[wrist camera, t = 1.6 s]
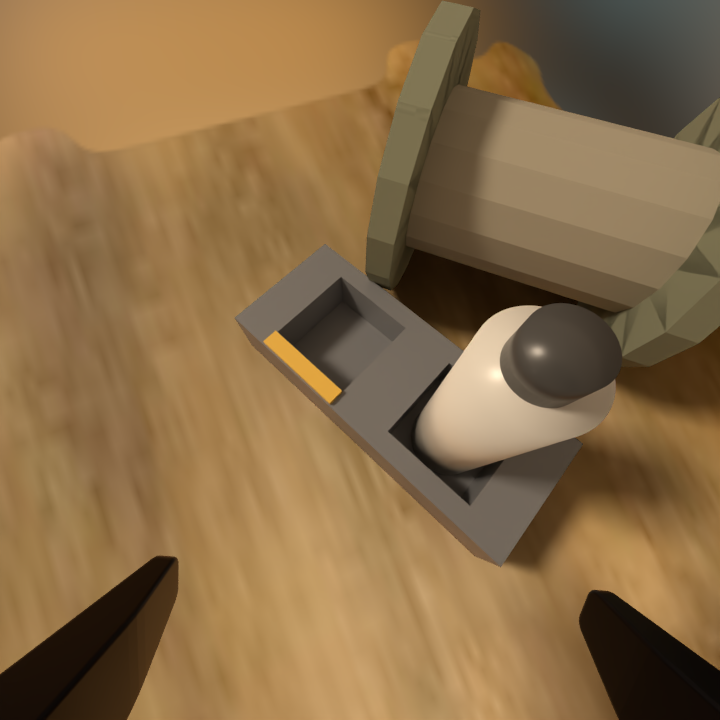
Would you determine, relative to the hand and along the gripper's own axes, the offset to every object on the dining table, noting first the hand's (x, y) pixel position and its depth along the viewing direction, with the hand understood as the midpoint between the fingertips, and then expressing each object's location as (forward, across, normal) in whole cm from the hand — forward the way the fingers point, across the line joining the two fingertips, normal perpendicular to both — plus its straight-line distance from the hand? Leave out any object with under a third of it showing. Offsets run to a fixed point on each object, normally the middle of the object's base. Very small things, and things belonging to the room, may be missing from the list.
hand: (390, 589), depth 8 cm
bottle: (+14, -6, +3) cm, 16 cm away
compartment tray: (+17, -2, +2) cm, 17 cm away
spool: (+23, -10, -7) cm, 26 cm away
